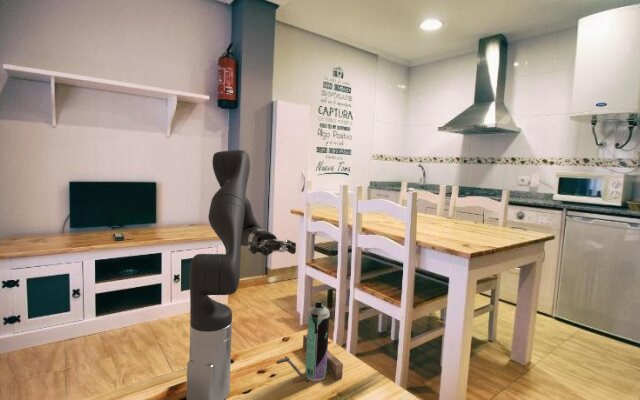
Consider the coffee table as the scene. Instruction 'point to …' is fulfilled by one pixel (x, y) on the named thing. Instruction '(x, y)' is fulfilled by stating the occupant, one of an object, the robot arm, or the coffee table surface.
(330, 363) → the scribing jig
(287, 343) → the coffee table surface
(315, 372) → the spray can
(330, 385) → the coffee table surface
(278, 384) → the coffee table surface
